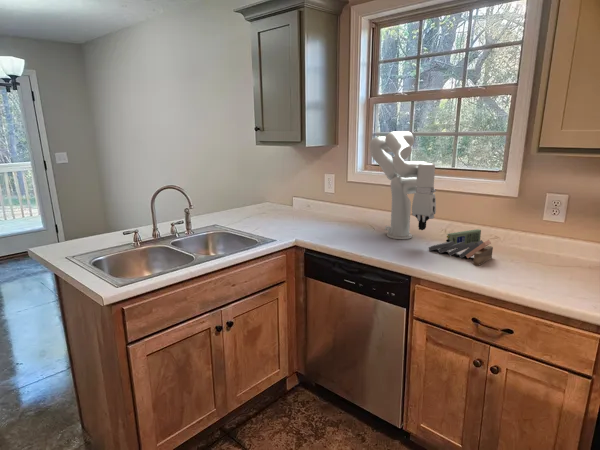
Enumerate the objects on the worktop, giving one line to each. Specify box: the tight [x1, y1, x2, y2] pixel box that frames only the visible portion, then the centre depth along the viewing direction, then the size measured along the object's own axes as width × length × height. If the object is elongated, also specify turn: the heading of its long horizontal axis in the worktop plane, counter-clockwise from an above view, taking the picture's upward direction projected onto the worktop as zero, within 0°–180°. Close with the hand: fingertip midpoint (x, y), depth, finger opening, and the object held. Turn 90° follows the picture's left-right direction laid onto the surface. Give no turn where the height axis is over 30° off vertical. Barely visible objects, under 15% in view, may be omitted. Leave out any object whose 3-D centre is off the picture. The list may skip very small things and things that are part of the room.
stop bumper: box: [472, 245, 494, 267], centre depth 164 cm, size 2×14×5 cm, turn 134°
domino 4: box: [458, 239, 485, 259], centre depth 167 cm, size 2×5×10 cm
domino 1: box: [428, 241, 454, 252], centre depth 177 cm, size 2×5×10 cm
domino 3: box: [447, 242, 474, 256], centre depth 170 cm, size 2×5×10 cm
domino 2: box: [438, 242, 465, 254], centre depth 173 cm, size 2×5×10 cm
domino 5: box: [465, 239, 492, 259], centre depth 165 cm, size 2×5×10 cm
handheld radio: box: [445, 228, 482, 245], centre depth 186 cm, size 7×3×25 cm
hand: (421, 229), depth 182 cm, fingers closed
